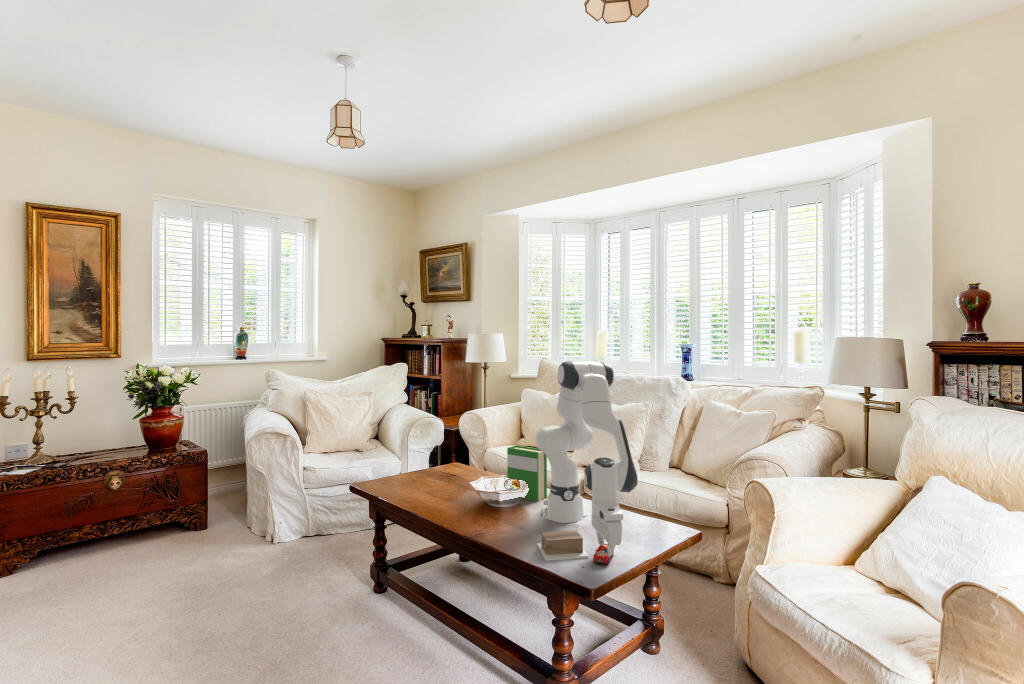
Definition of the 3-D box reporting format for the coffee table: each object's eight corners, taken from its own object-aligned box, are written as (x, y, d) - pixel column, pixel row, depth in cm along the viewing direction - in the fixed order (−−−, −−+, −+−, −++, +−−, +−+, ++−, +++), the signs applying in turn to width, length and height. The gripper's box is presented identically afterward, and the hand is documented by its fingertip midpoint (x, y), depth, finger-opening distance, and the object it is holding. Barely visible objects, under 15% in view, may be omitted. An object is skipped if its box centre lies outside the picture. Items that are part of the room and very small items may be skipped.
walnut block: (541, 546, 192) (541, 532, 192) (576, 543, 194) (576, 530, 194) (546, 555, 184) (546, 540, 184) (582, 552, 186) (582, 538, 186)
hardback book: (546, 501, 250) (546, 449, 249) (537, 505, 244) (537, 452, 244) (517, 494, 261) (516, 445, 260) (507, 498, 255) (507, 447, 255)
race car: (607, 566, 176) (607, 554, 176) (591, 563, 178) (591, 551, 178) (615, 553, 188) (616, 541, 188) (600, 550, 190) (600, 539, 190)
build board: (537, 546, 195) (537, 543, 195) (576, 543, 197) (576, 540, 197) (545, 562, 181) (545, 558, 181) (588, 559, 183) (588, 555, 183)
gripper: (586, 499, 190) (587, 538, 189) (606, 517, 169) (606, 561, 169) (604, 498, 191) (604, 537, 190) (625, 516, 170) (625, 560, 170)
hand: (605, 549), depth 180 cm, fingers open, 8 cm apart
